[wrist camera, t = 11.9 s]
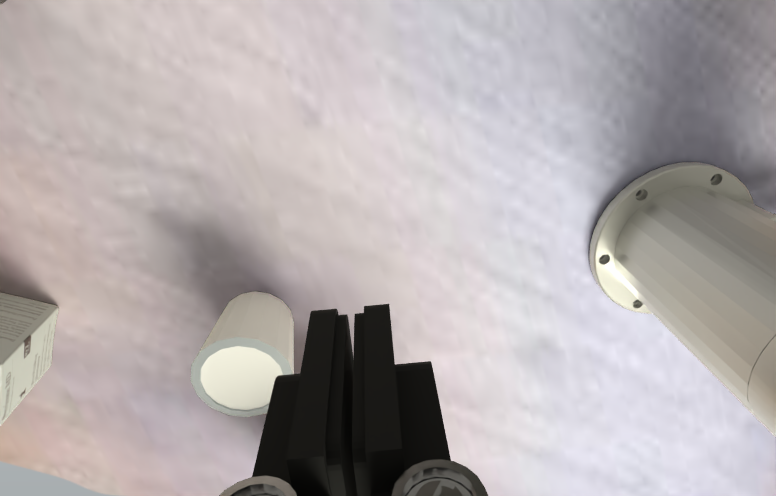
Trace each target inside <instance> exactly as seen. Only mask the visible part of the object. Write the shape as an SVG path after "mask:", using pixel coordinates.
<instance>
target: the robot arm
mask: <svg viewBox="0 0 776 496" xmlns="http://www.w3.org/2000/svg"><path fill="white" fill-rule="evenodd" d="M589 260H590V266H591V271H592V274H593V276H594V278H595V281H596V283H597V284H598V286H599V287H600V288H601V289H602V291H603V292H604V293H605V294H606V295H607V296H608V297H609V298H610V299H611V300H612V301H613V302H615V303H616V304H618V305H620V306H621V307H623V308H625V309H628V310H631V311H634V312H640V313H647V314H653V315H654V316H655V317H656V318H657V319H658V320H659V321H660V322H661V323H662V324H663V325H664V326H665V327H666V328H667V329H668V330H669V331H670V332H671V333H672V334H673V335H674V336H675V337H676V338H677V339H678V340H679V341H680V342H681V343H682V344H683V345H684V346H685V347H686V348H687V349H688V350H689V351H690V352H691V353H692V354H693V355H694V356H695V357H696V358H697V359H698V360H699V361H700V362H701V363H702V364H703V365H704V366H705V367H706V368H707V369H708V370H709V371H710V372H711V373H712V374H713V375H714V376H715V377H716V378H717V379H718V380H719V381H720V382H721V383H722V384H723V385H724V386H725V387H726V388H727V389H728V390H729V391H730V392H731V393H732V394H733V395H734V396H735V397H736V398H737V400H738V401H739V402H740V403H741V404H742V405H743V406H744V407H745V408H746V409H747V410H748V411H749V412H750V413H751V414H752V415H753V416H754V417H755V418H756V419H757V420H758V421H759V422H760V423H761V424H762V425H763V426H764V427H765V428H766V429H767V430H768V431H769V432H770V433H771V434H772V435H773V436H775V437H776V214H772V213H770V212H768V211H766V210H764V209H762V208H760V207H758V206H756V205H754V203H753V199H752V197H751V195H750V193H749V191H748V189H747V188H746V186H745V185H744V184H743V183H742V182H741V181H740V180H739V179H738V178H737V177H735V176H734V175H732V174H730V173H729V172H727V171H725V170H723V169H720V168H718V167H716V166H713V165H710V164H705V163H699V162H681V163H676V164H671V165H666V166H663V167H660V168H658V169H655V170H653V171H650V172H648V173H646V174H645V175H643V176H641V177H639V178H638V179H636V180H634V181H633V182H632V183H630V184H629V185H628V186H627V187H625V188H624V189H623V190H622V191H620V192H619V194H618V195H617V196H616V197H615V198H614V199H613V200H612V201H611V202H610V203H609V205H608V206H607V208H606V209H605V211H604V212H603V214H602V215H601V217H600V218H599V220H598V223H597V225H596V227H595V229H594V232H593V235H592V239H591V244H590V256H589ZM219 496H488V494H487V492H486V489H485V487H484V486H483V484H482V483H481V481H480V479H479V478H478V476H477V475H475V474H474V473H473V472H472V471H471V470H469V469H468V468H467V467H465V466H463V465H461V464H458V463H456V462H454V461H451V459H450V454H449V449H448V444H447V439H446V434H445V429H444V424H443V419H442V414H441V409H440V404H439V399H438V394H437V389H436V383H435V378H434V373H433V368H432V364H431V361H429V362H418V363H408V364H397V365H395V363H394V352H393V342H392V331H391V320H390V309H389V304H384V305H373V306H364V313H359V314H355V323H354V360H353V352H352V344H351V337H350V329H349V322H348V316H347V315H338V311H337V309H329V310H318V311H311V314H310V320H309V326H308V331H307V337H306V343H305V349H304V355H303V361H302V367H301V373H300V374H289V375H279V376H277V377H276V379H275V382H274V386H273V390H272V395H271V399H270V403H269V407H268V412H267V416H266V420H265V424H264V429H263V433H262V437H261V442H260V446H259V450H258V454H257V459H256V463H255V467H254V472H253V476H252V477H251V478H248V479H245V480H242V481H240V482H237V483H236V484H234V485H232V486H231V487H229V488H228V489H226V490H224V491H223V492H222V493H221V494H220V495H219Z"/></svg>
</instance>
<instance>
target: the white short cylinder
mask: <svg viewBox="0 0 776 496" xmlns="http://www.w3.org/2000/svg"><path fill="white" fill-rule="evenodd" d="M289 374H294V320H293V317H292V314H291V311H290V309H289V308H288V306H287V305H286V304H285V303H284V302H283V301H282V300H281V299H279V298H277V297H275V296H273V295H271V294H269V293H263V292H256V291H254V292H249V293H244V294H240V295H239V296H237V297H235V298H234V299H232V300H231V301H229V303H228V305H227V306H226V308H225V309H224V311H223V312H222V314H221V316H220V318H219V319H218V321H217V323H216V324H215V326H214V328H213V329H212V331H211V333H210V335H209V336H208V338H207V340H206V341H205V343H204V345H203V346H202V348H201V350H200V352H199V353H198V355H197V357H196V358H195V360H194V362H193V363H192V366H191V383H192V385H193V387H194V389H195V392H196V394H197V396H198V397H199V398H200V399H202V400H203V401H204V402H205V403H206V404H207V405H208V406H209V407H210V408H212V409H215V410H217V411H220V412H222V413H224V414H227V415H231V416H241V417H252V416H257V415H262V414H267V412H268V407H269V403H270V399H271V395H272V390H273V386H274V382H275V379H276V377H277V376H279V375H289Z"/></svg>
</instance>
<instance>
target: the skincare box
mask: <svg viewBox="0 0 776 496" xmlns="http://www.w3.org/2000/svg"><path fill="white" fill-rule="evenodd" d="M58 311H59V308H58V307H57V306H56V305H53V304H48V303H44V302H40V301H36V300H32V299H28V298H23V297H19V296H14V295H10V294H6V293H2V292H0V426H1V425H2V424H3V422H4V421H5V420H6V419H7V418H8V417H9V415H10V414H11V413H12V412H13V411H14V409H15V408H16V407H17V406H18V405H19V403H20V402H21V401H22V400H23V399H24V397H25V396H26V395H27V394H28V393H29V392H30V390H31V389H32V388H33V387H34V386H35V384H36V383H37V382H38V381H39V380H40V378H41V377H42V376H43V375H44V374H45V372H46V371H47V370H48V369H49V368H50V366H51V362H52V349H53V340H54V332H55V326H56V320H57V315H58Z"/></svg>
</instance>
